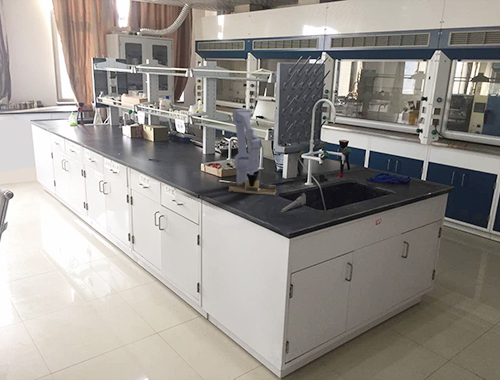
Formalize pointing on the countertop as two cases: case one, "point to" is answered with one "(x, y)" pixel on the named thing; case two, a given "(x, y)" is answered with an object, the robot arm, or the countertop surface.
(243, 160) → the robot arm
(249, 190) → the mechanism
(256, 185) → the coupler
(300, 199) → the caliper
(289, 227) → the countertop surface
